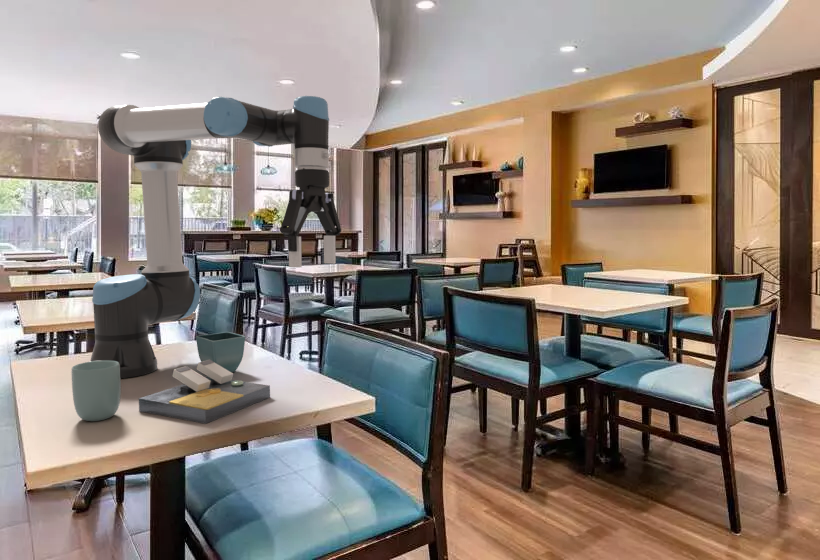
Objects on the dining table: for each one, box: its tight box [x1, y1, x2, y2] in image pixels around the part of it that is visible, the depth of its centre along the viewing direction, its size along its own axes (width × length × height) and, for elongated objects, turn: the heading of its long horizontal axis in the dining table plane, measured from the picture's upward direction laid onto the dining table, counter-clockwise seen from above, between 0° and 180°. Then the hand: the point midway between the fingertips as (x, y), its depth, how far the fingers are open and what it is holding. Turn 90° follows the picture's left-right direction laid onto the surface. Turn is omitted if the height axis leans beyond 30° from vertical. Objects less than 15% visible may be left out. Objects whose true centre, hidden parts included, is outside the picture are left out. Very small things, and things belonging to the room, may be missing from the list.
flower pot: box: [195, 331, 246, 373], centre depth 141 cm, size 9×9×9 cm
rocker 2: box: [196, 360, 234, 384], centre depth 123 cm, size 7×3×2 cm, turn 66°
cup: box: [70, 360, 122, 422], centre depth 107 cm, size 8×8×10 cm
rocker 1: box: [172, 365, 211, 392], centre depth 117 cm, size 7×3×2 cm, turn 66°
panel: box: [138, 376, 271, 425], centre depth 116 cm, size 17×18×3 cm
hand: (313, 265), depth 130 cm, fingers open, 13 cm apart
